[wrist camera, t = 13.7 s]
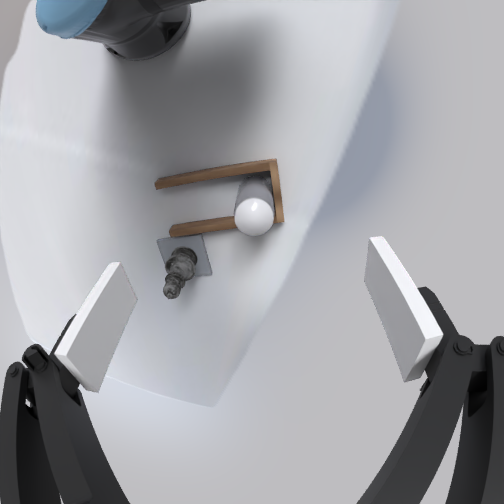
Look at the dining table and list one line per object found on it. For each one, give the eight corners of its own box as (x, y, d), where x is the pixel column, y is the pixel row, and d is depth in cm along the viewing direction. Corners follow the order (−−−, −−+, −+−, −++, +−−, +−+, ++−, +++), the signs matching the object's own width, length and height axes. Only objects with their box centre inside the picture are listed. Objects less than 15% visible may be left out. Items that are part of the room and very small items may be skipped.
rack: (159, 178, 46) (154, 183, 44) (276, 158, 44) (277, 162, 42) (174, 230, 51) (170, 237, 49) (283, 215, 49) (284, 222, 47)
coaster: (157, 239, 52) (156, 241, 52) (201, 233, 51) (200, 234, 51) (171, 276, 57) (170, 278, 56) (212, 272, 56) (211, 274, 55)
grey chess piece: (202, 268, 55) (191, 310, 44) (175, 272, 55) (159, 313, 45) (193, 242, 52) (178, 282, 41) (165, 247, 52) (145, 286, 42)
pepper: (235, 178, 46) (229, 202, 36) (269, 173, 45) (272, 196, 36) (241, 208, 49) (237, 239, 39) (273, 204, 48) (277, 234, 39)
